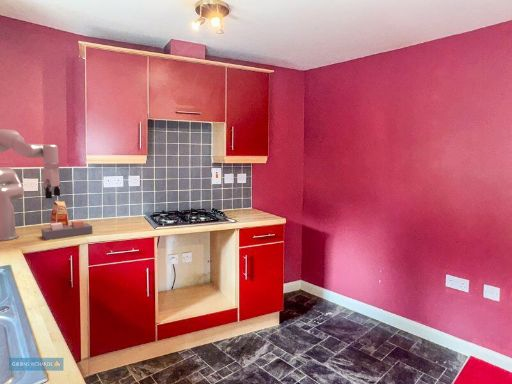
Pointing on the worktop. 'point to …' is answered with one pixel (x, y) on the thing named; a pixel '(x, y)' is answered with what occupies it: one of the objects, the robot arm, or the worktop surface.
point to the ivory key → (56, 226)
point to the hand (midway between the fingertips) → (53, 197)
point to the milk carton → (59, 213)
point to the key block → (66, 232)
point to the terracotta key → (77, 223)
